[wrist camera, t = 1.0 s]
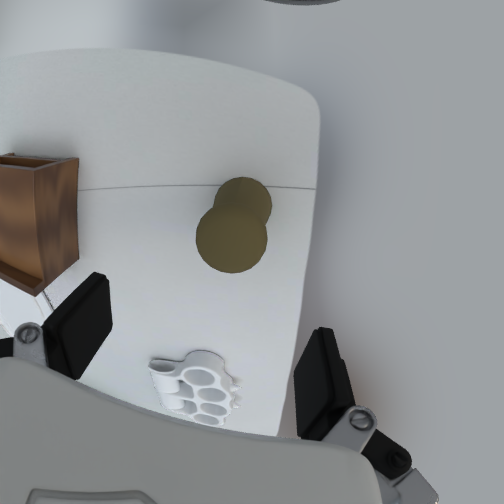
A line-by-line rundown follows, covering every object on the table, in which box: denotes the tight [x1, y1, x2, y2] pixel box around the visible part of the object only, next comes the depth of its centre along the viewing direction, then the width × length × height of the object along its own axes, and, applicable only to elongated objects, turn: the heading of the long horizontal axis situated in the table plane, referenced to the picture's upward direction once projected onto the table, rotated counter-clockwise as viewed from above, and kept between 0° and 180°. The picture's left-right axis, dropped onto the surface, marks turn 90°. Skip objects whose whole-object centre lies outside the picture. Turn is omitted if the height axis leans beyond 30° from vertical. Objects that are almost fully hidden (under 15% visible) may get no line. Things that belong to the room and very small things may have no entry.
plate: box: [0, 279, 53, 337], centre depth 38 cm, size 28×28×1 cm
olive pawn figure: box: [196, 177, 272, 273], centre depth 23 cm, size 6×6×11 cm
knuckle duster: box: [148, 351, 242, 427], centre depth 40 cm, size 3×18×15 cm
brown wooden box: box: [0, 153, 79, 297], centre depth 24 cm, size 14×16×10 cm
